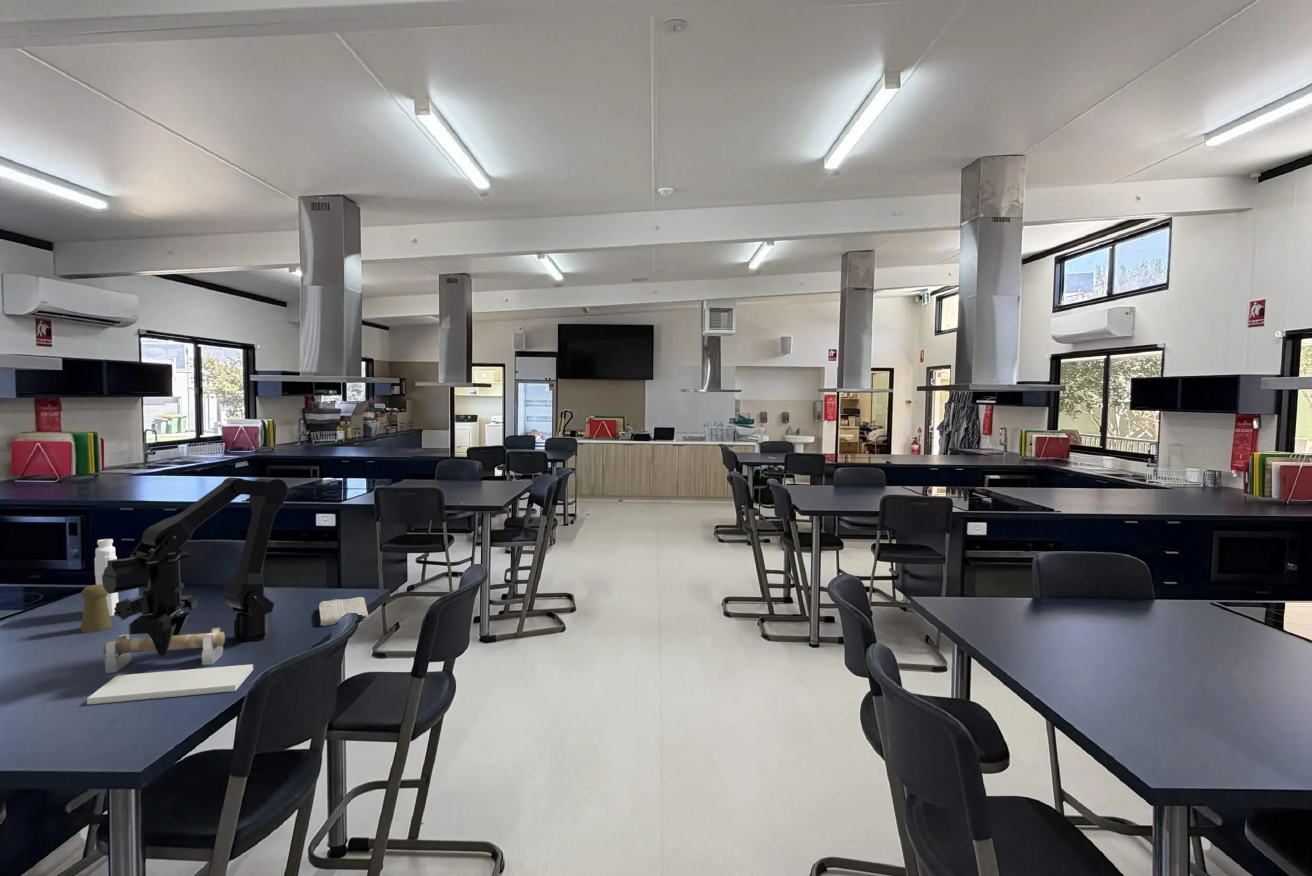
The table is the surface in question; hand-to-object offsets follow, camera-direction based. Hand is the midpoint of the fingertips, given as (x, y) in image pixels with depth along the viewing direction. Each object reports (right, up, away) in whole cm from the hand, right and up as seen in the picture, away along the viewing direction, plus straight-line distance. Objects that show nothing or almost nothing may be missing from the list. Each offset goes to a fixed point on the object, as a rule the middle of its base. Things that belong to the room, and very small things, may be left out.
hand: (166, 651), depth 146 cm
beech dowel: (0, +2, 0) cm, 2 cm away
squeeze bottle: (-42, -1, +34) cm, 54 cm away
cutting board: (+10, -3, -11) cm, 16 cm away
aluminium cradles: (0, -3, 0) cm, 2 cm away
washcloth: (+23, -2, +35) cm, 42 cm away
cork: (-34, -1, +22) cm, 40 cm away
